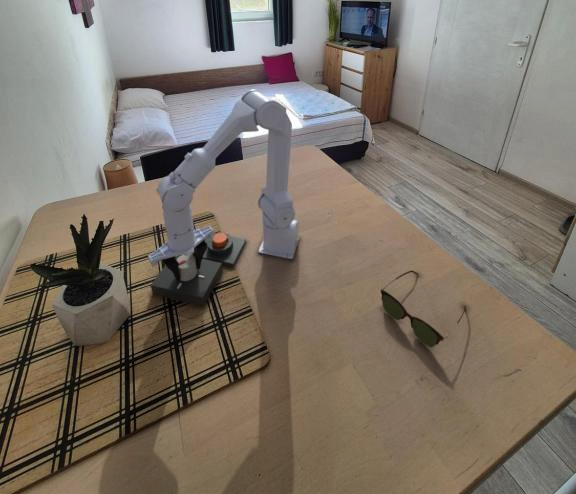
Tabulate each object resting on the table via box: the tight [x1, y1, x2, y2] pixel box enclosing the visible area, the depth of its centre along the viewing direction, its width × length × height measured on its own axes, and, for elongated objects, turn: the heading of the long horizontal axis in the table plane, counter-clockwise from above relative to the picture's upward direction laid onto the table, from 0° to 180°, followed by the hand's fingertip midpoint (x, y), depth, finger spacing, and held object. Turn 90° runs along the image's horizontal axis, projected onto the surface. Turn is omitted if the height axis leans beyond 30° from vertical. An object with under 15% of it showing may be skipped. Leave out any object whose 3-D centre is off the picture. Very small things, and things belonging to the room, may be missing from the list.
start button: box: [213, 232, 227, 248], centre depth 86 cm, size 4×4×2 cm
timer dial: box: [177, 254, 197, 281], centre depth 76 cm, size 4×4×4 cm
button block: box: [202, 232, 247, 268], centre depth 87 cm, size 11×9×3 cm
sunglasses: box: [380, 270, 467, 348], centre depth 72 cm, size 14×15×5 cm
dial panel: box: [150, 255, 224, 308], centre depth 77 cm, size 13×10×3 cm
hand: (187, 272), depth 76 cm, fingers closed on timer dial, 4 cm apart
